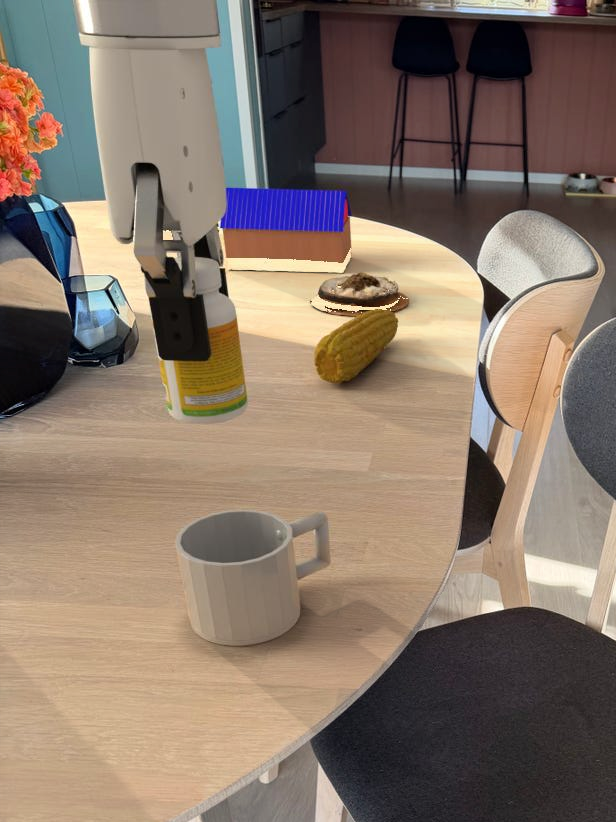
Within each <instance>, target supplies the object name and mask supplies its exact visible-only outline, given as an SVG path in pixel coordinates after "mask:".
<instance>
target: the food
mask: <svg viewBox="0 0 616 822" xmlns="http://www.w3.org/2000/svg"><path fill="white" fill-rule="evenodd" d="M398 323H399V318H398V317H397V316H396V314H395V312H394V311H388V310H382V309H375V310H370V311H367V312H365V313H362V314H361V315H360V316H354V318H352V319H351V320H348V321H346V322H343V323H342V325H340V326H338V327H337V328H335V329H334V330H332V331H331V332H330V333H329V334H326V335H325V336H323V337H322V338H321V339H320V340H319V342H318V343H317V344H316V346H315V350H314V356H313V358H314V359H313V363H314V366H315V370H316V373H317V376H319V379H321V380H323V381H326V382H328V383H331V384H341V383H342V382H345V381H346V382H348V381H350V380H351V379H352V378H355V377H357V376H358V375H359V373H360V372H361V371H363V370H364V369H365V368H366V367H367V366H368V365H370V364H371V363H372V362H374V361H375V360H376V358H377V357H378V356H379V355H380V354H381V353H382V352H383V351H384V350H385V348H386V347H388V345H390V343H391V342H392V341H393V340H394V338H395V337H396V334H397V332H398V331H397V330H398V328H399V324H398Z"/></svg>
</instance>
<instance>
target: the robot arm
mask: <svg viewBox="0 0 616 822" xmlns="http://www.w3.org/2000/svg"><path fill="white" fill-rule="evenodd" d="M72 4H73V8H74V14H75V15H74V16H75V19H76V25H77V30H78V36H79V42H80V45H81V46H85V47H89V48H88V50H89V51H88V53H89V55H88V56H89V77H90V89H91V90H90V91H91V101H92V102H91V103H92V111H93V120H94V127H95V135H96V143H97V149H98V156H99V163H100V164H99V165H100V170H101V176H102V184H103V190H104V196H105V197H104V198H105V202H106V210H107V217H108V221H109V227H110V231H111V234H112V237H114V239H115V240H116V241H117V242H118V243H120V244H121V245H130V244H132V249H133V254H134V257H135V259H136V261H137V262H138V263H139V265H140V270H141V273H142V274H143V276H144V287H145V293H146V295H147V297H148V303H149V309H150V316H151V315H152V320H153V326H154V331H153V333H154V332H155V337H156V342H155V344H156V343H157V348H158V354H159V357H160V358H161V359H163V360H167V361H207V360H208V359H209V358H210V356H211V347H210V340H209V333H208V326H207V319H206V312H205V305H204V298H203V294H196V293H197V289H196V273H195V257H201V258H209V259H212V260H215V261H217V262H218V264H219V269H220V275H221V287H220V288H219V293H221V294H224V295H225V296H227V297H228V298H229V299H230V296H229V289H228V281H227V273H226V267H223V266H224V261H225V260H224V259H225V257H224V252H223V247H222V242H221V238H220V229H219V228H220V224H219V222H221V219H222V217H223V216H224V214H225V211H226V188H227V185H226V176H225V166H224V165H225V164H224V158H223V157H224V156H223V149H222V142H221V133H220V130H219V121H218V115H217V114H218V113H217V107H216V103H215V102H216V101H215V96H214V89H213V80H212V78H211V71H210V66H209V62H208V56H207V55H208V54H207V50H206V49H208V48H211V49H213V48H220V47H222V38H221V30H220V29H221V28H220V20H219V12H218V2H217V0H72ZM165 230H169V231H171V233H172V237H173V240H163V231H165ZM167 253H168V254H169V253H172V254H176V256H177V258H178V257H180V258H181V270H180V268H179V265H178V263H177V262H176V260H175V259H174V258H175V257H174V256H168V255H167ZM152 320H151V321H152ZM153 326H152V327H153ZM155 337H154V338H155ZM157 348H156V349H157ZM158 354H157V355H158Z"/></svg>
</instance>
